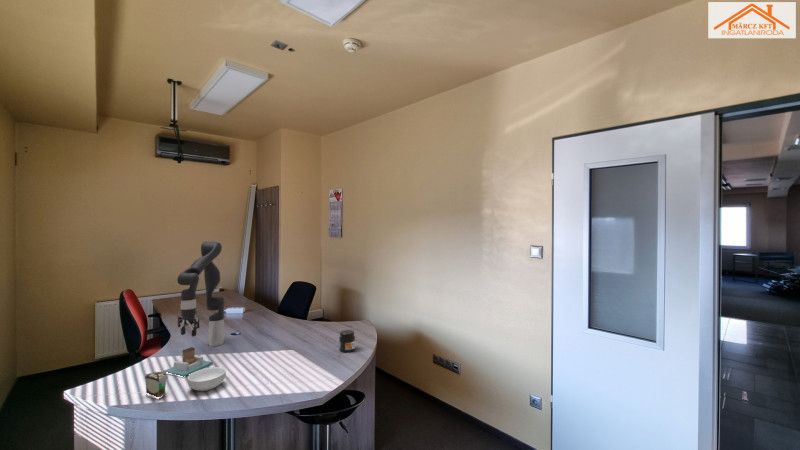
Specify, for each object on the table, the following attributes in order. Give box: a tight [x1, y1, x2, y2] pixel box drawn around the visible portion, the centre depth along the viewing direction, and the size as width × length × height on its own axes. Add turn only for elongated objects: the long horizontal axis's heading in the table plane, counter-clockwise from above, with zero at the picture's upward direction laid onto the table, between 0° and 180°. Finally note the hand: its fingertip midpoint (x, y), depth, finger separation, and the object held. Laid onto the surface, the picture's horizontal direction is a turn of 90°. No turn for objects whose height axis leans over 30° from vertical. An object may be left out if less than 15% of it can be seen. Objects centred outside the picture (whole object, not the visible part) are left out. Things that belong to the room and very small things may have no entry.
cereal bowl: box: [187, 366, 227, 392], centre depth 164 cm, size 17×17×7 cm
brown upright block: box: [182, 346, 196, 364], centre depth 187 cm, size 3×5×10 cm, turn 161°
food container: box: [144, 371, 169, 397], centre depth 157 cm, size 12×6×10 cm, turn 65°
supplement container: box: [338, 329, 356, 354], centre depth 213 cm, size 10×10×12 cm
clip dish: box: [162, 355, 214, 378], centre depth 186 cm, size 16×18×6 cm
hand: (188, 335), depth 187 cm, fingers open, 8 cm apart
